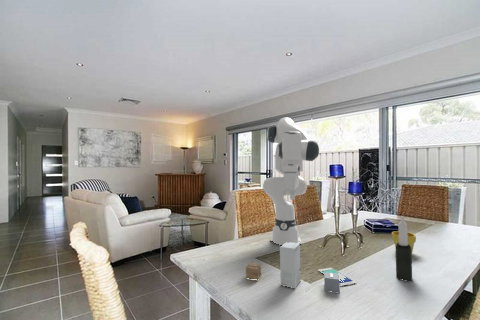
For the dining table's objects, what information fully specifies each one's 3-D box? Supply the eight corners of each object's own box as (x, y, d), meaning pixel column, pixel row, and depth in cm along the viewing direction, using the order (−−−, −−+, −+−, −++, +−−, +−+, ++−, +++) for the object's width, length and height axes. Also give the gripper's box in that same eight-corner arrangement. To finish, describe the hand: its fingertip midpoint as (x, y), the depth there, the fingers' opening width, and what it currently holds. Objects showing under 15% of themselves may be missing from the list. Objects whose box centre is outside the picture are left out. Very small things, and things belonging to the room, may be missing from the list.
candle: (397, 274, 101) (396, 214, 102) (412, 277, 98) (410, 215, 99) (395, 278, 97) (394, 216, 98) (411, 282, 94) (409, 217, 95)
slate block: (324, 285, 93) (324, 271, 93) (338, 287, 91) (338, 273, 91) (324, 291, 88) (324, 277, 88) (339, 293, 87) (339, 279, 87)
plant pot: (393, 254, 124) (392, 235, 124) (391, 248, 133) (391, 230, 133) (418, 257, 119) (417, 237, 119) (414, 251, 128) (413, 232, 128)
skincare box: (295, 289, 89) (294, 249, 90) (279, 285, 92) (279, 246, 93) (301, 280, 97) (300, 242, 97) (286, 277, 100) (286, 240, 100)
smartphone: (331, 267, 108) (357, 282, 93) (331, 269, 108) (357, 284, 93) (317, 269, 105) (341, 285, 91) (317, 271, 105) (341, 287, 91)
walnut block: (249, 274, 102) (249, 262, 103) (261, 276, 101) (260, 263, 101) (246, 279, 98) (245, 266, 98) (258, 281, 96) (257, 268, 96)
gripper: (288, 167, 117) (288, 196, 117) (281, 167, 98) (281, 202, 97) (301, 167, 115) (302, 196, 115) (297, 167, 96) (298, 202, 95)
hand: (292, 199), depth 106 cm, fingers closed
